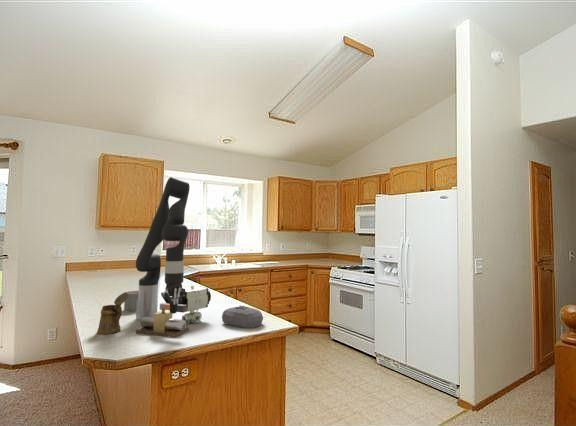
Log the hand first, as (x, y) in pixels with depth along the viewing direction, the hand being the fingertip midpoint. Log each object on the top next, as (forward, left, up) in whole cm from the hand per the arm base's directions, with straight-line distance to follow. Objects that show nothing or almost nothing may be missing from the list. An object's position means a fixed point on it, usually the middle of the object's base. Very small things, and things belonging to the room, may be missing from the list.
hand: (173, 313), depth 139 cm
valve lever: (-4, +5, 0) cm, 7 cm away
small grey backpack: (+20, +28, -11) cm, 36 cm away
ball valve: (-5, +24, -10) cm, 27 cm away
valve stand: (-9, +6, -10) cm, 15 cm away
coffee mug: (-51, +40, -10) cm, 66 cm away
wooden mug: (-30, 0, -10) cm, 32 cm away
